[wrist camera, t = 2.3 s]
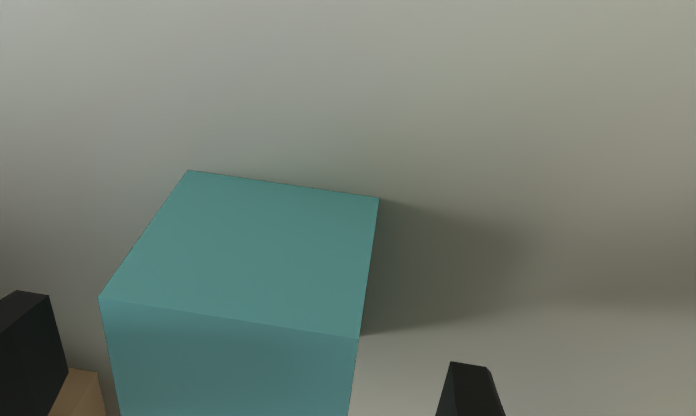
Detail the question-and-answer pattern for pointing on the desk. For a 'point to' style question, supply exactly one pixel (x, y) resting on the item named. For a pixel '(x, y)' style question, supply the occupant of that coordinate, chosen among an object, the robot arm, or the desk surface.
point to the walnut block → (79, 395)
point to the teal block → (241, 301)
